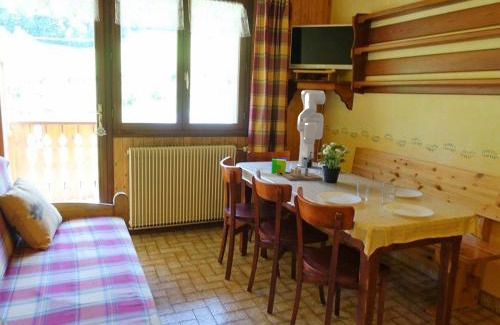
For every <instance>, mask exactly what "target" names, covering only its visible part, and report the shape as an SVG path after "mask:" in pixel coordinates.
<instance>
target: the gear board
mask: <svg viewBox="0 0 500 325" xmlns="http://www.w3.org/2000/svg"><path fill="white" fill-rule="evenodd" d="M304 169H305V170H304V173H302V169H301V167H299V166H297V167H296V166H295V167H292V168H290V173H285V174H281V175H282V177H284V178H285V179H286V180H288V181H290V182H295V181H296V182H299V181H301V182H302V181H303V182H305V181H323V177H322V176H320V175H318V174H316V173H313V172H311V173H309V168H304Z"/></svg>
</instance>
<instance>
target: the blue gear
mask: <svg viewBox="0 0 500 325" xmlns="http://www.w3.org/2000/svg"><path fill="white" fill-rule="evenodd" d="M307 162H308V159H306V160H305V159H303V160H302V167H301V168H302V169H306V168H307ZM313 162H314V160H313V161H312V164H313ZM307 169H308V168H307Z"/></svg>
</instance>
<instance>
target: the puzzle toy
mask: <svg viewBox="0 0 500 325" xmlns="http://www.w3.org/2000/svg"><path fill="white" fill-rule="evenodd" d="M271 159H272V160H271V174H274V173H282V174H286V168H287V157H274V156H273V157H272V158H271ZM282 174H281V175H282Z"/></svg>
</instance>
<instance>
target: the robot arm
mask: <svg viewBox="0 0 500 325" xmlns="http://www.w3.org/2000/svg"><path fill="white" fill-rule="evenodd" d="M301 101H302V105H303V110H302V111H301V112H300V113H299V115H298V117H297V122H296V123H297V124H296V125H297V126H296V129H297V131H298V132H299V137H300V139H299V140H300V142H299V156H298V163H296V166H297V167H298V168H303V167H302V160H303V159H305V160H306V159H308V162H307V169H312V168H313V163H312V161H313V162H314V155H315V154H314V152H315V141H316V140H321V139H322V138H323V132H324V114H323V113H320V112H317V105H324V104H325V103H326V94H325V91H323V90H314V89H304V90H302V91H301Z"/></svg>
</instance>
